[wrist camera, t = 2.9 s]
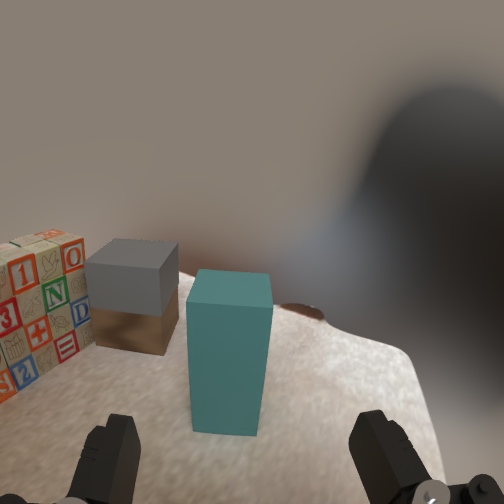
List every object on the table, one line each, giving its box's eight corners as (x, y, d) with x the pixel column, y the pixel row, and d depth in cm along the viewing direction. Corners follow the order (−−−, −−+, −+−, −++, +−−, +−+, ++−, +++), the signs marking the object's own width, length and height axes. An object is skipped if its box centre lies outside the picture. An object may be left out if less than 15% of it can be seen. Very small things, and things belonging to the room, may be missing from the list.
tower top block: (90, 307, 29) (83, 262, 27) (117, 277, 36) (114, 238, 35) (162, 316, 29) (159, 268, 27) (178, 282, 36) (178, 242, 35)
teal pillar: (193, 431, 21) (186, 301, 18) (200, 390, 26) (199, 269, 22) (256, 436, 22) (273, 307, 18) (255, 394, 26) (268, 274, 22)
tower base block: (96, 346, 30) (88, 307, 29) (120, 312, 38) (116, 277, 36) (163, 357, 30) (160, 317, 29) (178, 318, 38) (177, 283, 36)
